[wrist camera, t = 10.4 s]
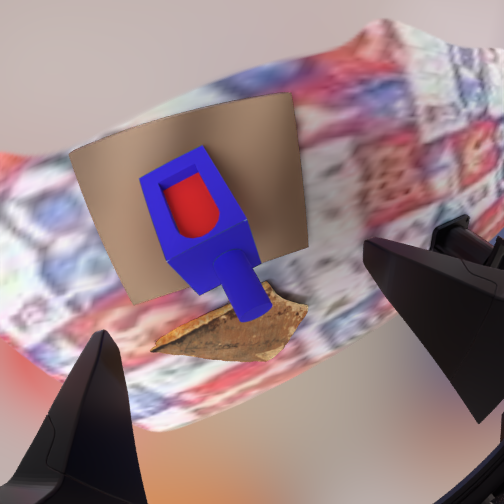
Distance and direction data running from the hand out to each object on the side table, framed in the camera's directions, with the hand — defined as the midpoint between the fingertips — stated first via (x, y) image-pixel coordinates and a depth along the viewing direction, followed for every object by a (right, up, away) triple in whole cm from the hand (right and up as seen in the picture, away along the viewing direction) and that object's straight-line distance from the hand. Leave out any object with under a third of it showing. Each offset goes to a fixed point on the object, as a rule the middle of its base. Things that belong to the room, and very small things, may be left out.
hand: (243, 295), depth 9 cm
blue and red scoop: (-3, +4, +7) cm, 8 cm away
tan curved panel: (-3, +5, +8) cm, 9 cm away
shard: (-1, -5, +15) cm, 16 cm away
